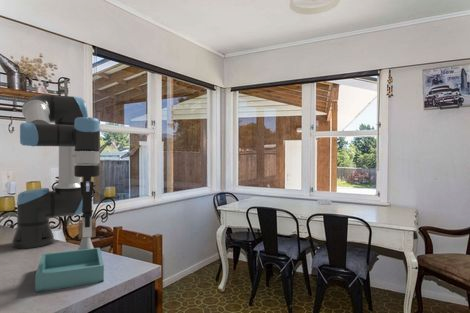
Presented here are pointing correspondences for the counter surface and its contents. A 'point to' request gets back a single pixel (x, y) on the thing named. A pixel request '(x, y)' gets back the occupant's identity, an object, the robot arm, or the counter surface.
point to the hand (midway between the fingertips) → (86, 234)
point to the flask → (85, 244)
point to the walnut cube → (82, 228)
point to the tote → (69, 269)
